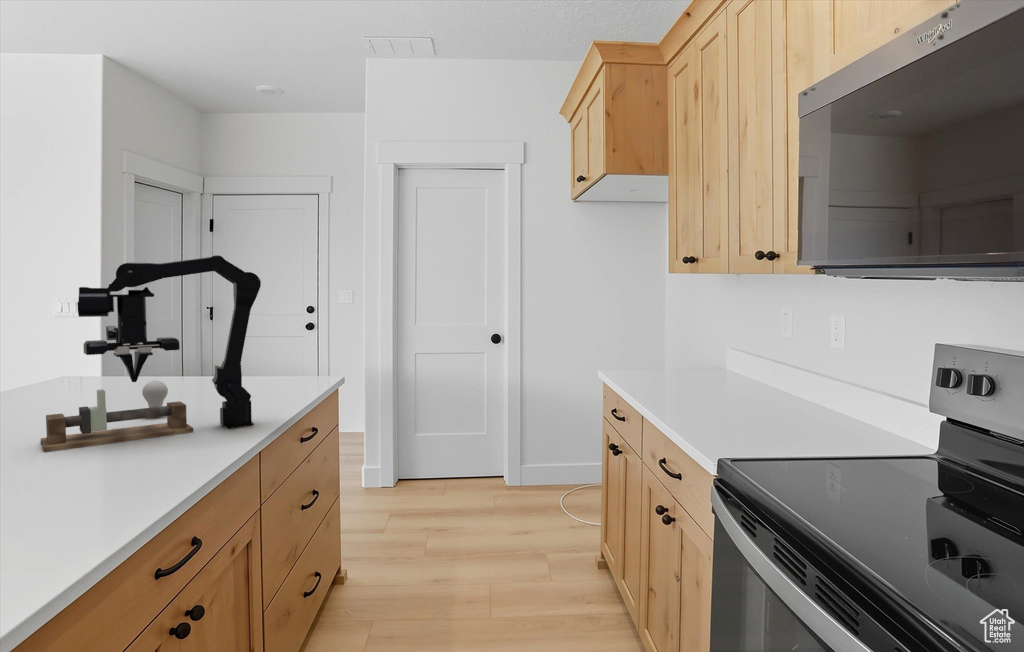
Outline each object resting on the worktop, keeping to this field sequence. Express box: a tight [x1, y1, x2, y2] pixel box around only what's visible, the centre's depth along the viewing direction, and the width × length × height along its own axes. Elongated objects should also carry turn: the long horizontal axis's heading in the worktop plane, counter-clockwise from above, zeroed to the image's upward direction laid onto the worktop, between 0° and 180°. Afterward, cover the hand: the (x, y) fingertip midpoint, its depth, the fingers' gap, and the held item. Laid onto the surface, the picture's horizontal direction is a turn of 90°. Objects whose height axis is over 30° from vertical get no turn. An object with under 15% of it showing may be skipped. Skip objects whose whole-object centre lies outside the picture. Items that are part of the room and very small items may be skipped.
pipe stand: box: [40, 400, 194, 453], centre depth 143 cm, size 29×10×6 cm, turn 131°
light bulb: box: [141, 379, 168, 408], centre depth 164 cm, size 6×6×10 cm
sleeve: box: [87, 388, 108, 432], centre depth 139 cm, size 3×5×9 cm, turn 41°
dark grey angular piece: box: [78, 406, 91, 434], centre depth 138 cm, size 2×5×5 cm, turn 41°
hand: (134, 381), depth 144 cm, fingers closed
